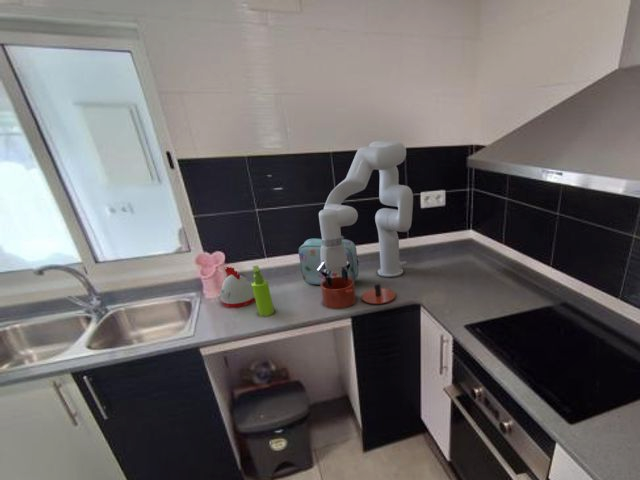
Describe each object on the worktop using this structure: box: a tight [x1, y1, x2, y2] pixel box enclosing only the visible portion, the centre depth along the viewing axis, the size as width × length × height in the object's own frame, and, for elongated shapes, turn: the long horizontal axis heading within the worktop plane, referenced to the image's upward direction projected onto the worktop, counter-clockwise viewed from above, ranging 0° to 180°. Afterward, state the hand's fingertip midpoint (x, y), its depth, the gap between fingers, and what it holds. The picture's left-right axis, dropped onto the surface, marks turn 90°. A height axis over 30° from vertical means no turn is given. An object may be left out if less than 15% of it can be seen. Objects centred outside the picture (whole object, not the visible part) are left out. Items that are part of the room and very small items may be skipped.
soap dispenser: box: [252, 265, 275, 317], centre depth 149 cm, size 6×7×20 cm
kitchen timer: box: [219, 266, 256, 308], centre depth 161 cm, size 14×14×15 cm
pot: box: [320, 277, 357, 310], centre depth 160 cm, size 14×19×8 cm
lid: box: [361, 282, 396, 305], centre depth 164 cm, size 15×15×7 cm
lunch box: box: [298, 238, 361, 286], centre depth 175 cm, size 27×10×21 cm, turn 84°
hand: (337, 282), depth 158 cm, fingers open, 7 cm apart
